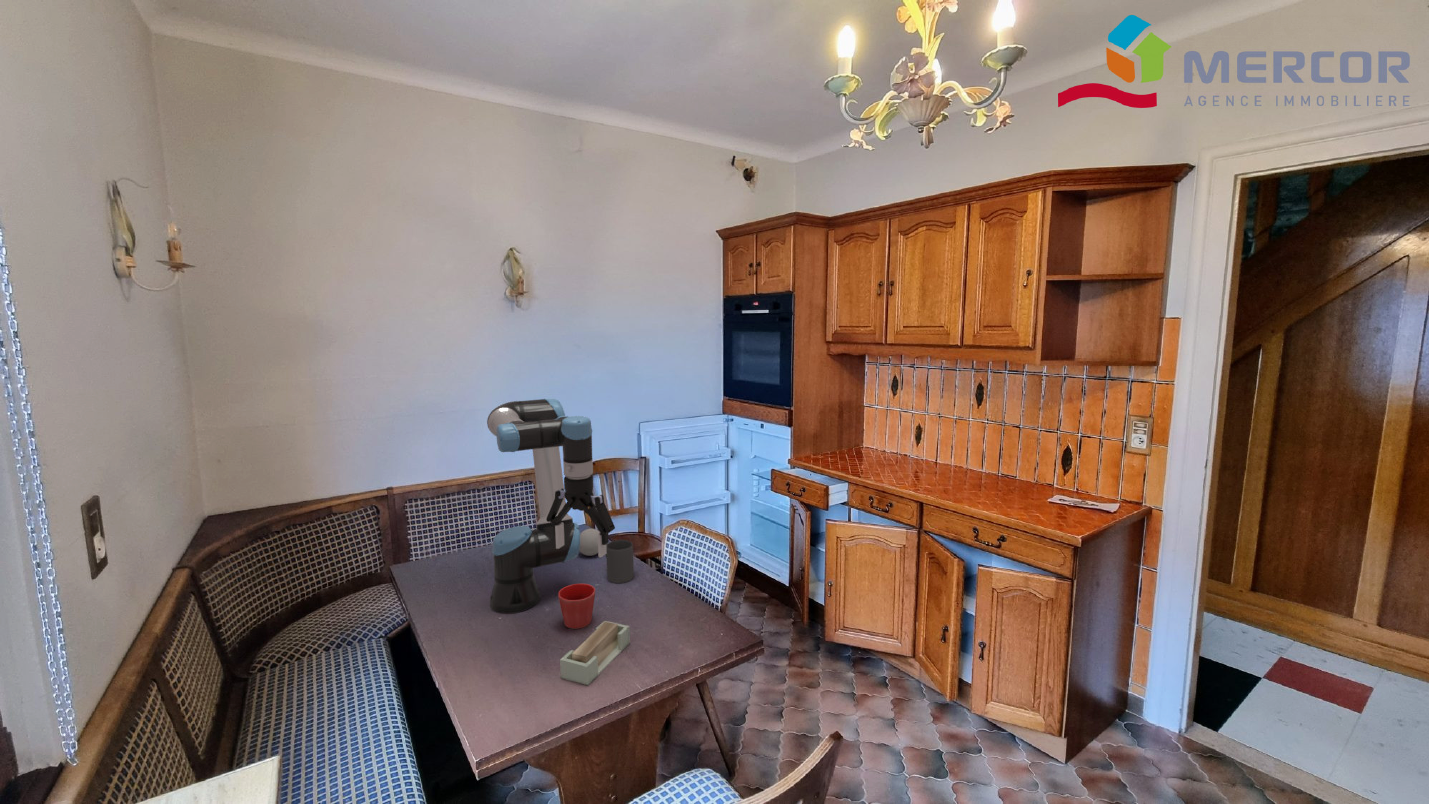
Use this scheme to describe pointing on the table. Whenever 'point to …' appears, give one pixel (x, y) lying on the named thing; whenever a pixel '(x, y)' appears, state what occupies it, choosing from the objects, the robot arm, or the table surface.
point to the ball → (589, 542)
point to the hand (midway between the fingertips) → (581, 551)
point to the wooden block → (598, 644)
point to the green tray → (592, 660)
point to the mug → (619, 561)
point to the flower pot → (577, 605)
